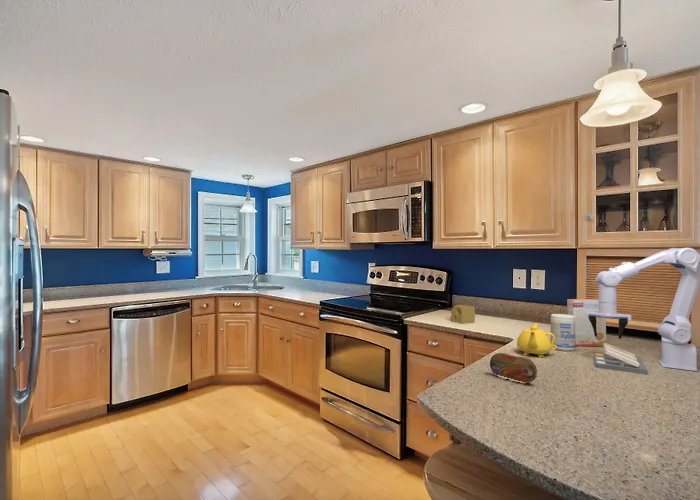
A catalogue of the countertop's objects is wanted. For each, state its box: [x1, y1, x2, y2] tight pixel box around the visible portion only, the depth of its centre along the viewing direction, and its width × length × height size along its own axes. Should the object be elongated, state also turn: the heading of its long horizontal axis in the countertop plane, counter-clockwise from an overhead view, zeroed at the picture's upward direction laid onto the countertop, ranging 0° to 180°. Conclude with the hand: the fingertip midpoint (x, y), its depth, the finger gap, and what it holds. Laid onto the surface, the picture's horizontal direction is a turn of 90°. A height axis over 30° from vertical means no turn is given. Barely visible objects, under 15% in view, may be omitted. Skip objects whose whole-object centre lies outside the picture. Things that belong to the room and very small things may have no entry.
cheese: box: [449, 304, 476, 325], centre depth 222 cm, size 10×11×10 cm
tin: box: [489, 352, 538, 384], centre depth 121 cm, size 15×3×8 cm, turn 40°
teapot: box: [516, 322, 557, 358], centre depth 151 cm, size 20×15×12 cm
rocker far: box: [602, 342, 636, 358], centre depth 141 cm, size 10×3×1 cm, turn 58°
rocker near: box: [604, 349, 640, 367], centre depth 131 cm, size 10×3×1 cm, turn 58°
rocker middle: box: [603, 346, 637, 361], centre depth 136 cm, size 10×3×1 cm, turn 58°
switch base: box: [593, 352, 649, 375], centre depth 136 cm, size 15×16×3 cm
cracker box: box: [566, 298, 607, 348], centre depth 166 cm, size 14×6×21 cm, turn 84°
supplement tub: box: [550, 313, 576, 352], centre depth 160 cm, size 10×10×15 cm
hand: (607, 337), depth 141 cm, fingers open, 7 cm apart
